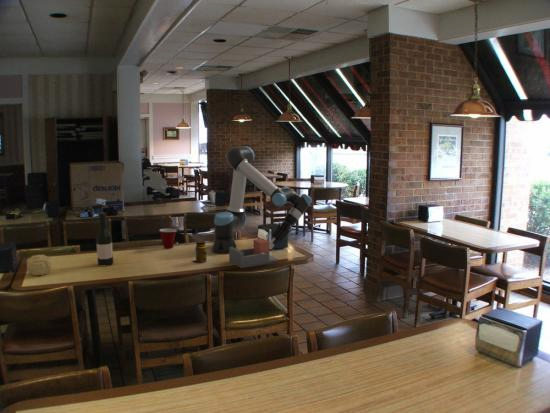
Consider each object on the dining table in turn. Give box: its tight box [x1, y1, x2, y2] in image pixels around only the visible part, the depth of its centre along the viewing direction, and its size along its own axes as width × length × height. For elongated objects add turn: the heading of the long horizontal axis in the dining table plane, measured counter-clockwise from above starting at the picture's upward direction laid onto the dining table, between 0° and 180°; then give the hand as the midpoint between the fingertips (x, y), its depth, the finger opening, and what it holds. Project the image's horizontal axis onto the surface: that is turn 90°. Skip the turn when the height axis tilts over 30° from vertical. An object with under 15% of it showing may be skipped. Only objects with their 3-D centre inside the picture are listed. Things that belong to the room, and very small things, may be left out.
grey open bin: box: [228, 246, 279, 269], centre depth 279 cm, size 15×24×8 cm, turn 121°
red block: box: [253, 238, 270, 255], centre depth 281 cm, size 8×7×10 cm
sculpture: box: [26, 254, 52, 276], centre depth 257 cm, size 11×12×11 cm
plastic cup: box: [159, 228, 177, 250], centre depth 307 cm, size 11×11×12 cm
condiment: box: [190, 240, 210, 265], centre depth 278 cm, size 7×8×12 cm
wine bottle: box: [95, 211, 114, 266], centre depth 272 cm, size 8×8×30 cm
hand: (269, 247), depth 283 cm, fingers closed
